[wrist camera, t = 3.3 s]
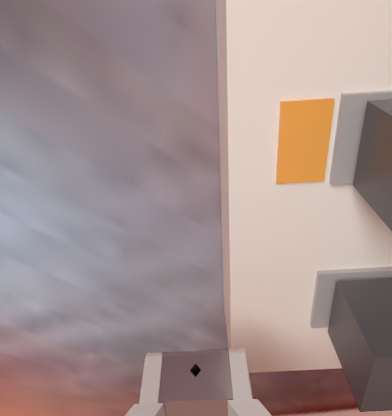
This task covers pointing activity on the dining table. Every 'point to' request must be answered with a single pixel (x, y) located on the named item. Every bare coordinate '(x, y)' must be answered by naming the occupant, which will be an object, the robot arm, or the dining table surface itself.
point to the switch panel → (296, 169)
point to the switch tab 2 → (364, 340)
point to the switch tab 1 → (376, 159)
